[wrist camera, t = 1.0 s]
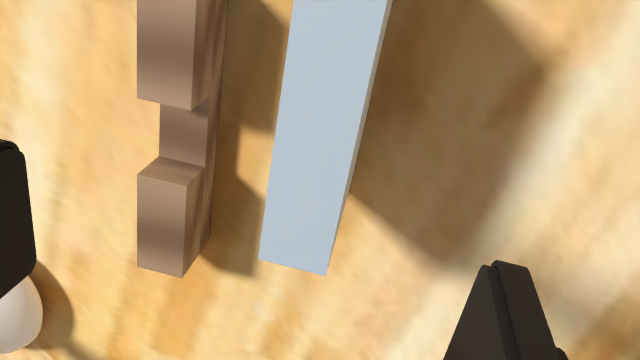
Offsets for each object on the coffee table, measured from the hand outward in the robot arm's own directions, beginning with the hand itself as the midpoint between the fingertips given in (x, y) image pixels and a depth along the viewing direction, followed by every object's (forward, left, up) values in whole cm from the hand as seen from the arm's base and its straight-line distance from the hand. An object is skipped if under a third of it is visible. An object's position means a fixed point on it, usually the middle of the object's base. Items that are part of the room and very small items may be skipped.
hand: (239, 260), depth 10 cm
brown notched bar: (+6, -9, -20) cm, 23 cm away
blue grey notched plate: (0, 0, -20) cm, 20 cm away
